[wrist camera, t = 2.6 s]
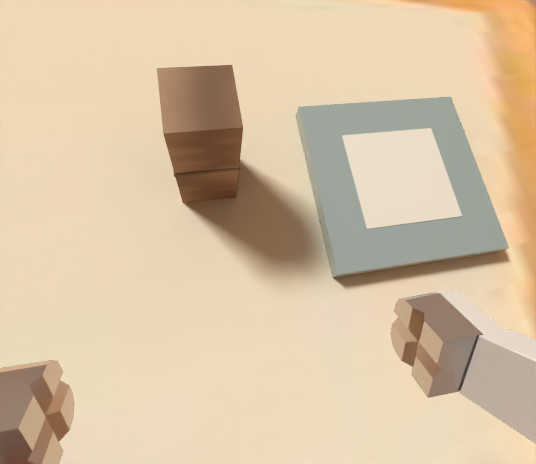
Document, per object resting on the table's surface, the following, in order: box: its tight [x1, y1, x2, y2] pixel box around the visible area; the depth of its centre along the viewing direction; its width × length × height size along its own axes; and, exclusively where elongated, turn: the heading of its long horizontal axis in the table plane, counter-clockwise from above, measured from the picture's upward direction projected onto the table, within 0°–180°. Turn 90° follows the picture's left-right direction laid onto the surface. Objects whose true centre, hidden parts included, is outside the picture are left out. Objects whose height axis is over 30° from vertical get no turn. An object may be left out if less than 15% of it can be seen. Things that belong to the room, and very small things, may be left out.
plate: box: [296, 97, 509, 278], centre depth 28 cm, size 14×14×1 cm
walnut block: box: [157, 65, 243, 203], centre depth 22 cm, size 4×4×9 cm
